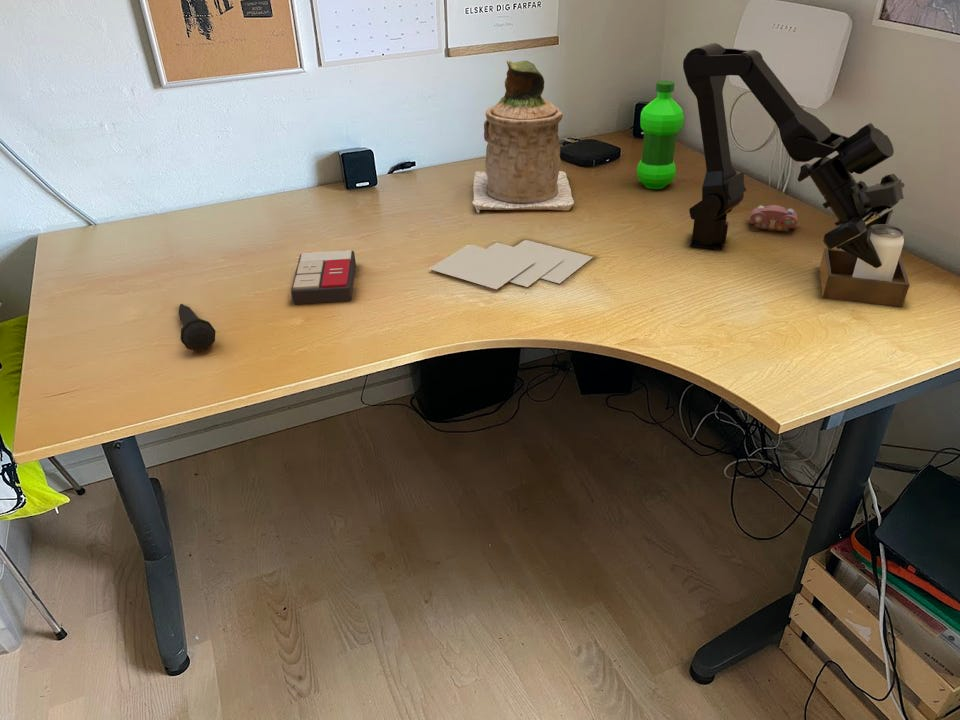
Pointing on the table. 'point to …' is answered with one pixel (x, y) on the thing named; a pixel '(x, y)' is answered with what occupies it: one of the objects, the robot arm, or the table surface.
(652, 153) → the plastic bottle
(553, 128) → the cookie jar
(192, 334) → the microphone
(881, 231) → the can
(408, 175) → the table surface
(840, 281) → the tray
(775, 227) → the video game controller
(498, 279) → the paper stack
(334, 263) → the calculator
